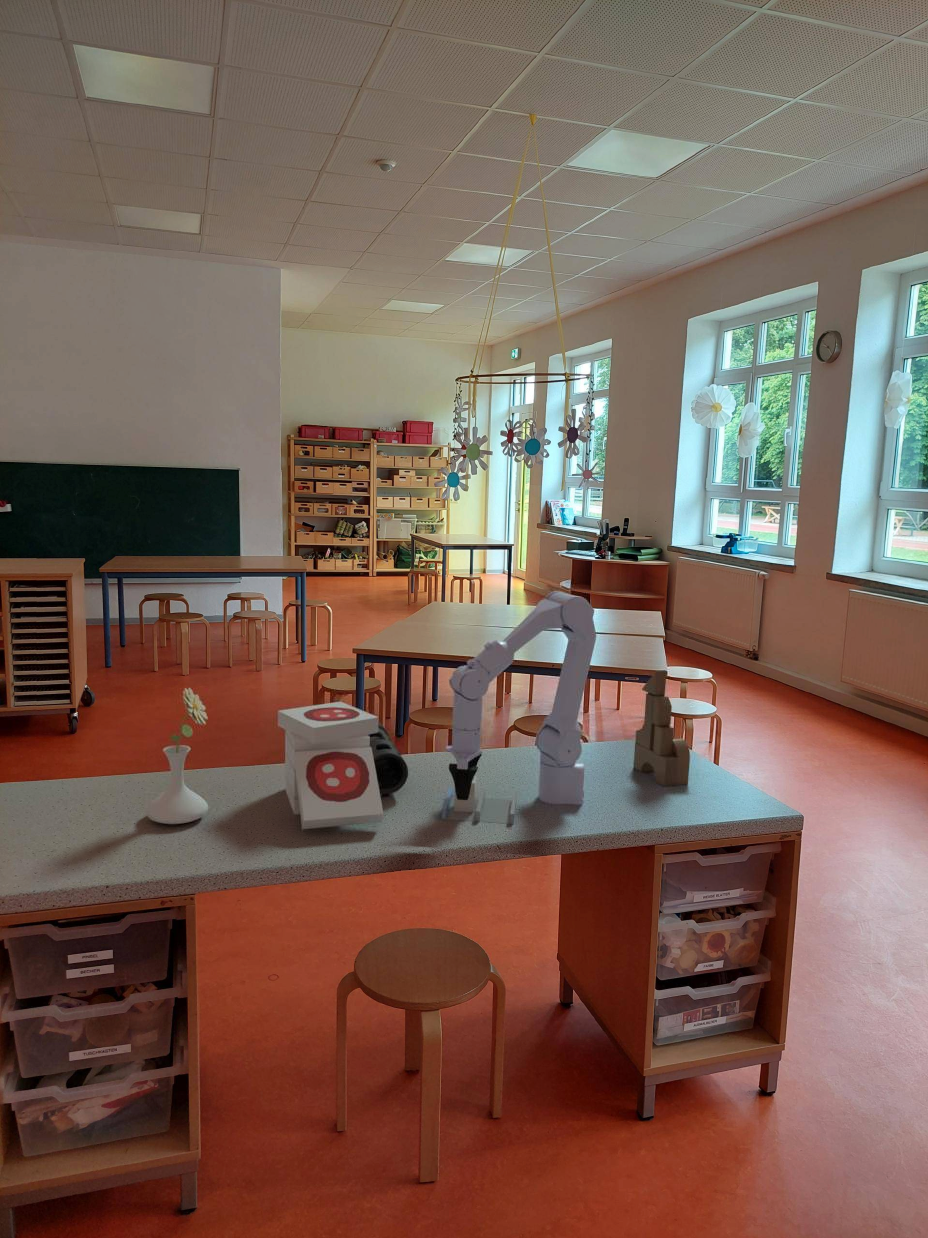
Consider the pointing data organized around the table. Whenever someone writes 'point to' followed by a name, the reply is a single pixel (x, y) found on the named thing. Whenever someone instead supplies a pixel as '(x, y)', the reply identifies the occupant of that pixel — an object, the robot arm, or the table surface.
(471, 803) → the plug
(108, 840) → the table surface
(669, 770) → the wooden toy
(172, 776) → the flower in vase
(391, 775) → the muzzle brake
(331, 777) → the pizza boxes
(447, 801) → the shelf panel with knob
